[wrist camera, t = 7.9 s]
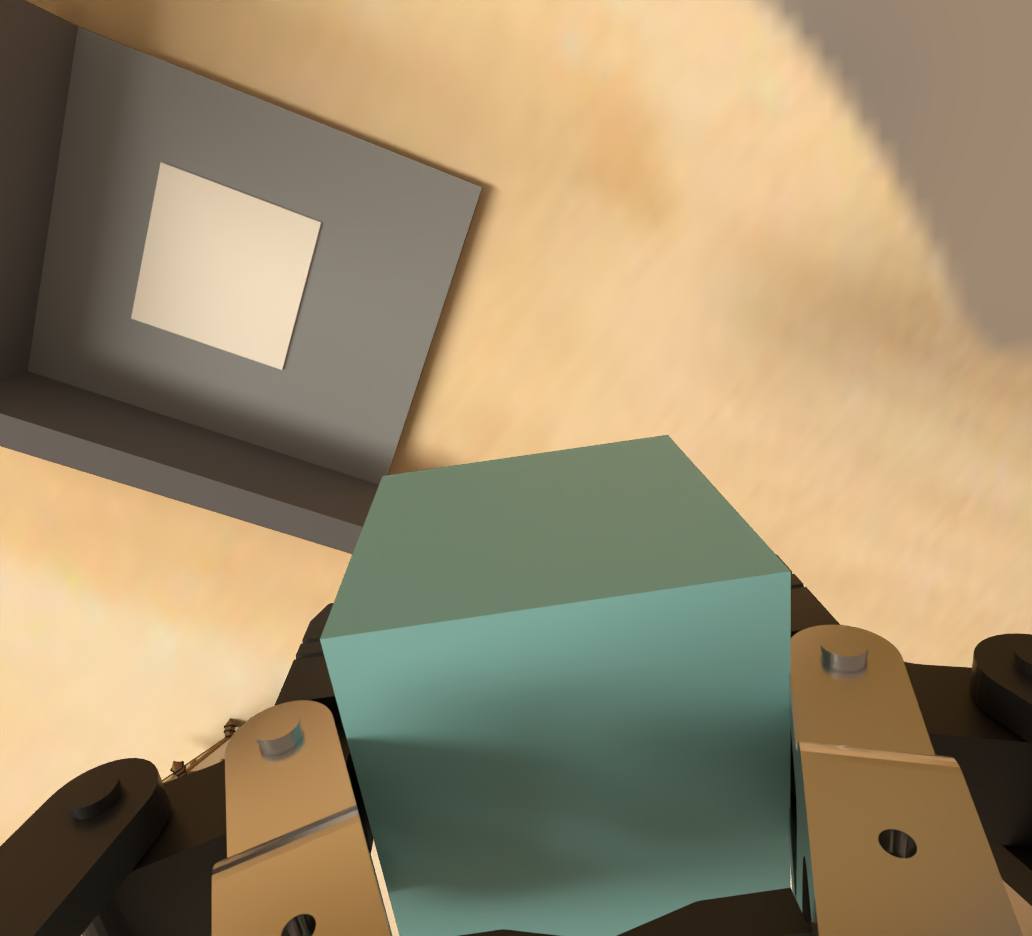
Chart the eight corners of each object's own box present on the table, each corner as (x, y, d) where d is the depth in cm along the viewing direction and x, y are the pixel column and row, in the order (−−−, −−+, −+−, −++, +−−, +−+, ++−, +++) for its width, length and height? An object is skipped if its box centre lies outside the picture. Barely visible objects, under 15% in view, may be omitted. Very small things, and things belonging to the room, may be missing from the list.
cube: (667, 434, 12) (789, 571, 7) (682, 674, 14) (790, 911, 9) (382, 476, 12) (319, 638, 7) (433, 710, 14) (408, 967, 9)
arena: (482, 188, 27) (480, 179, 22) (377, 505, 31) (357, 555, 26) (52, 17, 24) (-54, -35, 19) (2, 385, 28) (-95, 416, 24)
